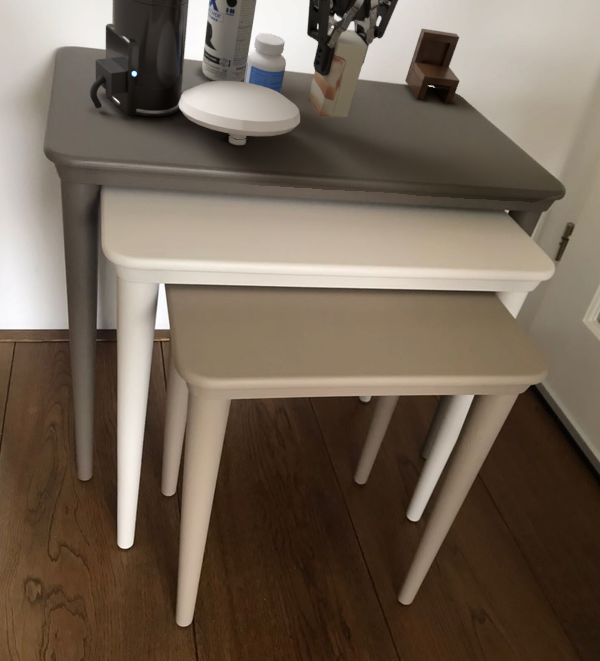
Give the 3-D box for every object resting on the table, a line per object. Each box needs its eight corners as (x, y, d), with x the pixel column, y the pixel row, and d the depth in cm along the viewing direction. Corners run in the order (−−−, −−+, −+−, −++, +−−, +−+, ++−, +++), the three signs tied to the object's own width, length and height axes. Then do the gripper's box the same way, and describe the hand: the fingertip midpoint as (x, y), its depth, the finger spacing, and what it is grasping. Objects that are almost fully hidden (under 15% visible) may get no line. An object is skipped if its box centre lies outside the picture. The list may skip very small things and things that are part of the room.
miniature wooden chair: (416, 99, 112) (434, 45, 105) (405, 80, 116) (421, 28, 110) (451, 103, 113) (471, 50, 107) (438, 85, 118) (456, 33, 112)
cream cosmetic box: (306, 99, 93) (324, 25, 86) (334, 101, 95) (354, 29, 88) (319, 117, 90) (338, 42, 83) (348, 119, 91) (369, 45, 85)
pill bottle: (284, 114, 97) (297, 47, 90) (252, 117, 94) (263, 48, 88) (266, 96, 100) (277, 30, 94) (234, 99, 97) (243, 31, 91)
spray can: (196, 65, 104) (210, -80, 90) (238, 67, 106) (257, -74, 93) (207, 84, 99) (224, -65, 86) (250, 86, 102) (273, -59, 89)
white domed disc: (157, 71, 85) (155, 125, 89) (219, 109, 75) (215, 169, 79) (260, 69, 94) (255, 120, 98) (328, 104, 84) (319, 158, 88)
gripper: (392, -80, 83) (355, 54, 95) (307, -85, 75) (278, 63, 86) (435, -59, 80) (392, 78, 91) (351, -62, 71) (315, 89, 83)
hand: (337, 70), depth 89 cm, fingers closed on cream cosmetic box, 5 cm apart
